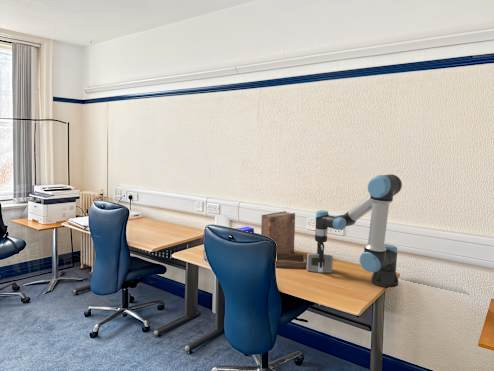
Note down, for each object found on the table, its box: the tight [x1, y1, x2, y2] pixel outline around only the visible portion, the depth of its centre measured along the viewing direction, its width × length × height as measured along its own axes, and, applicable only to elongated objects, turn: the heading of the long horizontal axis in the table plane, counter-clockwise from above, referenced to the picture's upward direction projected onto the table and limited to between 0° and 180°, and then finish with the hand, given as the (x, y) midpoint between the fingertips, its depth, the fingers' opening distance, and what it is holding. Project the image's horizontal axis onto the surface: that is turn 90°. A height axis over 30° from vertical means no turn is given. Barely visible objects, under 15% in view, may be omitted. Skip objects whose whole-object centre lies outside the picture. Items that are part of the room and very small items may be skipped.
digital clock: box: [306, 253, 334, 274], centre depth 241 cm, size 16×9×11 cm, turn 67°
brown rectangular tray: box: [275, 253, 307, 270], centre depth 255 cm, size 17×21×4 cm
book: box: [260, 210, 296, 254], centre depth 273 cm, size 25×9×30 cm, turn 131°
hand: (319, 269), depth 242 cm, fingers closed on digital clock, 7 cm apart
